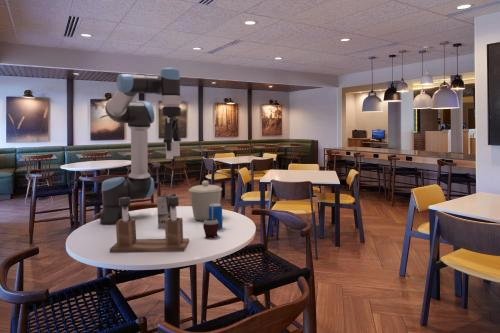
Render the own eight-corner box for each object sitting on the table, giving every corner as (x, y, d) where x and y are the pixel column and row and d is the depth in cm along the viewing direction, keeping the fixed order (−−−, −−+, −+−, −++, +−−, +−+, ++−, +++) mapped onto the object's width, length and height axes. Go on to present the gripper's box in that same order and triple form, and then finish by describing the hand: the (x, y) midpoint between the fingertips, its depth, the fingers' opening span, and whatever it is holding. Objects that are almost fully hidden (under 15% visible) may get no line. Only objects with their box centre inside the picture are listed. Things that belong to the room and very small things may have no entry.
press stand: (120, 242, 153) (118, 217, 151) (189, 241, 153) (188, 215, 152) (109, 252, 141) (108, 224, 140) (184, 251, 141) (183, 223, 140)
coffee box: (169, 229, 173) (168, 197, 171) (157, 228, 174) (156, 196, 172) (177, 224, 181) (176, 193, 180) (165, 223, 183) (164, 193, 181)
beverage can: (210, 226, 175) (210, 203, 174) (223, 227, 175) (222, 203, 173) (208, 230, 169) (207, 206, 168) (221, 230, 168) (220, 206, 167)
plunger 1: (123, 240, 149) (121, 197, 147) (133, 239, 149) (131, 196, 147) (119, 243, 144) (117, 199, 142) (130, 243, 144) (128, 199, 142)
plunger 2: (170, 239, 149) (168, 196, 147) (180, 238, 149) (179, 196, 147) (168, 242, 144) (166, 198, 142) (178, 242, 144) (177, 198, 142)
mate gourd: (208, 240, 155) (207, 206, 153) (200, 235, 161) (199, 203, 159) (222, 236, 159) (222, 204, 157) (214, 232, 165) (213, 201, 164)
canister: (187, 216, 197) (186, 179, 195) (218, 213, 203) (217, 177, 201) (192, 224, 180) (191, 184, 178) (226, 221, 186) (225, 182, 184)
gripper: (174, 104, 133) (176, 160, 135) (185, 108, 158) (187, 154, 160) (154, 104, 133) (156, 160, 135) (169, 108, 158) (170, 155, 160)
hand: (173, 157), depth 148 cm, fingers open, 13 cm apart
